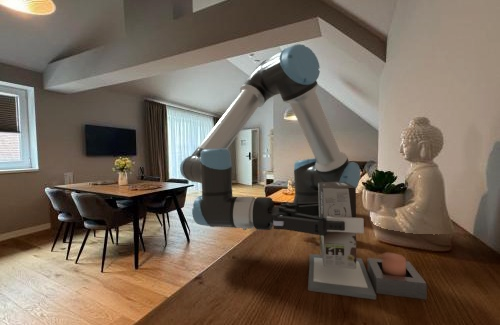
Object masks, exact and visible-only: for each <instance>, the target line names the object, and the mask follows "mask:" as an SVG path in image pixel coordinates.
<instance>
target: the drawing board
mask: <svg viewBox="0 0 500 325" xmlns="http://www.w3.org/2000/svg"><path fill="white" fill-rule="evenodd" d="M308 267H309V268H308V280H307V281H308V282H307V283H308V284H307V290H308V291H309V292H317V293H323V294H324V293H325V294H329V295H330V294H331V295H338V296H339V295H340V296H345V297H353V298H361V299H367V300H368V299H369V300H374V301H375V300H377V293H376V291H375V288H374V286H373V283H372V281H371V278H370V276H369V273H368V270H367V269H366V266H365V264H364V261H363V258H357V257H356V269H350V268H338V267H325V266H324V264H323V259H322V255H321V254H312V253H310V254H309V266H308Z"/></svg>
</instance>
